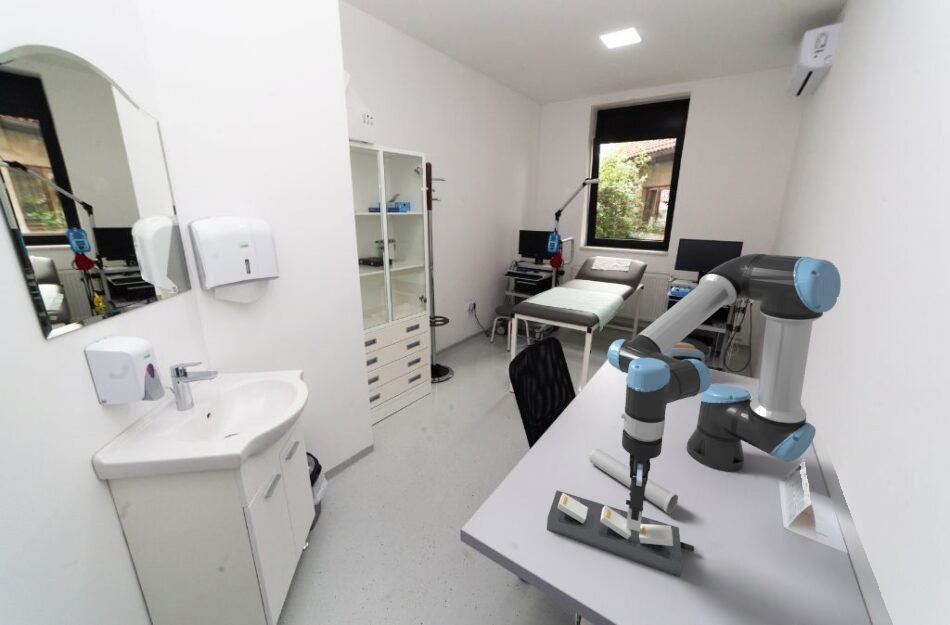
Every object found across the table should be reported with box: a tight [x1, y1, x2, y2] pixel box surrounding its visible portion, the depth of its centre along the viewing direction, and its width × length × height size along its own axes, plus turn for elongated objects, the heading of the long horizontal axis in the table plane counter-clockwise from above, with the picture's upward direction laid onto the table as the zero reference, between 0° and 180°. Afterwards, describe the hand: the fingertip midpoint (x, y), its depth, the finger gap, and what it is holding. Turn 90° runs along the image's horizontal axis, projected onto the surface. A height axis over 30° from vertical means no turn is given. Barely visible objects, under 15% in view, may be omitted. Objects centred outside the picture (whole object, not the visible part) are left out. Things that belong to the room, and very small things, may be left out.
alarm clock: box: [665, 341, 706, 364], centre depth 173 cm, size 16×16×16 cm
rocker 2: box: [600, 504, 631, 540], centre depth 83 cm, size 6×4×2 cm, turn 65°
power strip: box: [546, 490, 695, 578], centre depth 84 cm, size 31×10×4 cm, turn 65°
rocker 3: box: [639, 524, 673, 546], centre depth 79 cm, size 6×4×2 cm, turn 65°
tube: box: [588, 448, 679, 515], centre depth 102 cm, size 5×5×25 cm
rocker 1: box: [558, 492, 588, 523], centre depth 86 cm, size 6×4×2 cm, turn 65°
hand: (633, 527), depth 81 cm, fingers closed, pressing on rocker 2
